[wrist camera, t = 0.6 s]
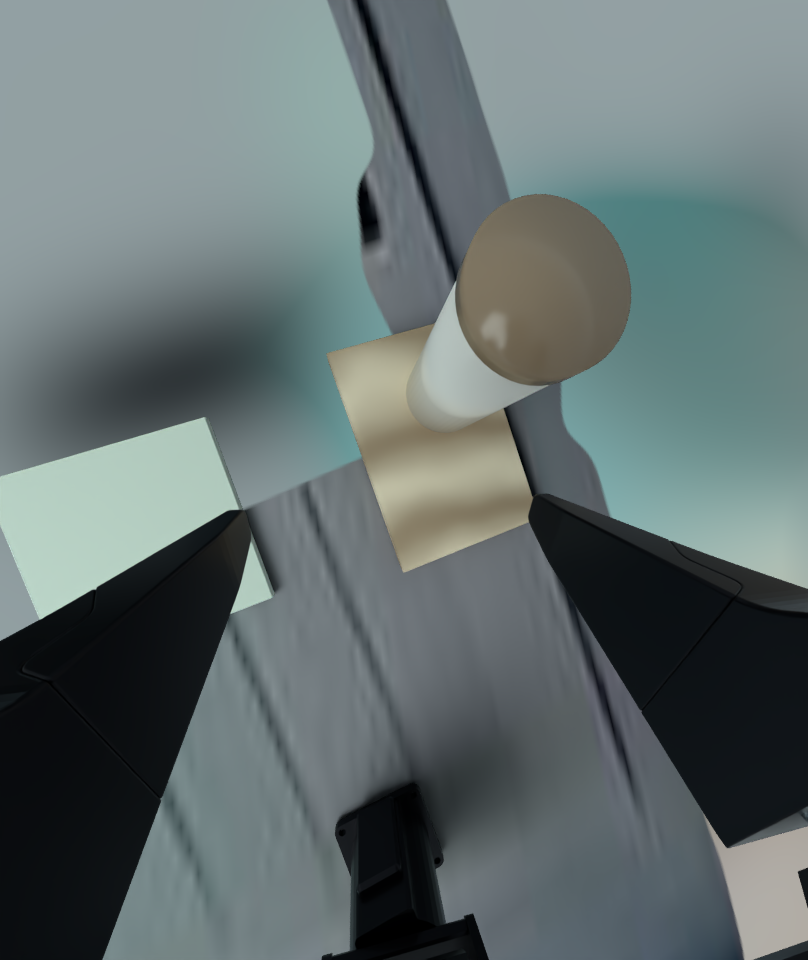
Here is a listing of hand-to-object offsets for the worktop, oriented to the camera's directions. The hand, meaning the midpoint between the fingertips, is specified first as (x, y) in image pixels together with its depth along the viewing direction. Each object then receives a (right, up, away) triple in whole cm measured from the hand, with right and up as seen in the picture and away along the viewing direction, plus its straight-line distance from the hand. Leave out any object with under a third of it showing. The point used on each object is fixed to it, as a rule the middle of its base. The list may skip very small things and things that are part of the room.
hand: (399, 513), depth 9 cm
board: (+2, +4, +13) cm, 14 cm away
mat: (-17, -3, +10) cm, 20 cm away
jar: (+3, +7, +12) cm, 14 cm away
